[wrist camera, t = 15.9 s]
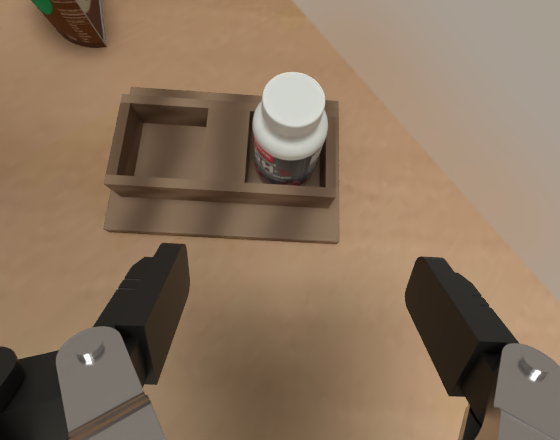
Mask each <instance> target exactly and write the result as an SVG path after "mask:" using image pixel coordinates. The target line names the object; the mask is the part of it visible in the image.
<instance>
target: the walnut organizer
mask: <svg viewBox="0 0 560 440" xmlns="http://www.w3.org/2000/svg"><path fill="white" fill-rule="evenodd" d="M261 101H262V96H254V95H240V94H225V93H211V92H196V91H182V90H167V89H152V88H138V87H131V90H130V95H128V94H122V98H121V103H120V108H119V112H118V117H117V122H116V127H115V132H114V137H113V142H112V147H111V152H110V157H109V162H108V167H107V172H106V177H105V181H104V184H105V185H106V186H107V187H109V188H110V189H111V192H110V197H109V202H108V207H107V213H106V218H105V223H104V228H103V229H104V230H106V231H108V232H119V233H138V234H157V235H176V236H195V237H214V238H233V239H252V240H271V241H289V242H308V243H327V244H337V243H338V242H339V116H338V101H327V100H325V108H324V110H325V112H326V115H327V119H328V131H327V136H326V139H325V141H324V144H323V146H322V149H321V152H320V154H319V157H318V160H317V162H316V165H315V168H314V170H313V173H312V175H311V177H310V178H309V180H308V181H307V182H306V183H305V184H304V185H303V186H294V185H277V184H265V183H264V182H263V181H262V180H261V179H260V177H259V176H258V174H257V171H256V168H255V159H254V143H253V129H252V123H253V116H254V113H255V110H256V108H257V106H258V105H259V103H260V102H261Z"/></svg>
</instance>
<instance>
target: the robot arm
mask: <svg viewBox="0 0 560 440" xmlns="http://www.w3.org/2000/svg"><path fill="white" fill-rule="evenodd" d="M189 287H190V277H189V267H188V257H187V248H186V245H185V244H174V243H162V244H161V245H160V246H159V248H158V250H157V251H156V253H155V255H154V257H144V258H142V259H141V260H140V261H138V262H137V263H136V264H134V265H133V266H132V267H131V269H130V270H129V272H128V273H127V275H126V276H125V279H124V280H123V281H122V283H121V284H120V286H119V287H118V290H116V292H115V294H114V295H113V297H112V298H111V300H110V301H109V303H108V304H107V306H106V308H105V309H104V311H103V312H102V314H101V315H100V317H99V318H98V320H97V321H96V323H95V325H94V326H93V328H89V329H86V330H84V331H81V332H79V333H77V334H76V335H74V336H73V337H71V338H70V339H69V340H68V341H66V342H65V343H64V344H63V346H62V347H61V348H60V350H58V351H54V352H50V353H46V354H41V355H36V356H32V357H27V358H23V359H18V358H17V356H16V355H15V353H14V351H13V350H11V349H9V348H7V347H0V440H166V438H165V436H164V433H163V431H162V428H161V426H160V423H159V421H158V419H157V416H156V414H155V411H154V409H153V406H152V404H151V402H150V400H149V398H148V396H147V395H145V393H144V391H143V389H142V388H143V386H144V384H154V385H157V383H158V380H159V377H160V374H161V371H162V369H163V366H164V363H165V360H166V357H167V354H168V351H169V349H170V346H171V343H172V340H173V337H174V334H175V332H176V329H177V326H178V323H179V320H180V317H181V315H182V312H183V309H184V306H185V303H186V300H187V297H188V293H189ZM405 303H406V307H407V309H408V311H409V313H410V315H411V317H412V320H413V322H414V324H415V326H416V328H417V330H418V332H419V334H420V336H421V339H422V341H423V343H424V345H425V347H426V349H427V351H428V353H429V355H430V357H431V360H432V362H433V364H434V366H435V368H436V370H437V372H438V374H439V376H440V378H441V381H442V383H443V385H444V387H445V389H446V391H447V393H448V395H449V396H460V397H466V399H467V401H468V403H469V404H468V406H467V407H466V409H465V412H464V417H463V421H462V425H461V429H460V434H459V438H458V440H560V366H559V365H558V364H557V363H556V362H555V361H553V360H552V359H551V358H550V357H548V356H547V355H546V354H544V353H542V352H541V351H539V350H537V349H535V348H533V347H530V346H527V345H524V344H519V342H518V341H517V340H516V339H515V337H514V336H513V335H512V333H511V332H510V331H509V330H508V328H507V327H506V326H505V325H504V323H503V322H502V321H501V319H500V318H499V317H498V316H497V314H496V313H495V312H494V311H493V309H492V308H489V304H488V303H487V302H486V300H485V299H484V298H482V297H481V294H480V293H479V292H478V290H477V289H476V288H475V286H474V285H473V284H472V283H471V282H470V281H468V280H467V279H466V278H464V277H463V276H462V275H460V274H459V273H455V272H454V271H453V270H452V268H451V267H450V266H449V264H448V263H447V262H446V260H445V259H444V258H439V257H418V258H417V260H416V262H415V265H414V267H413V270H412V273H411V276H410V279H409V282H408V285H407V288H406V291H405Z"/></svg>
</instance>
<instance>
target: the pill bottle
mask: <svg viewBox="0 0 560 440" xmlns="http://www.w3.org/2000/svg"><path fill="white" fill-rule="evenodd" d="M324 108H325V95H324V92H323V90H322V88H321V86H320V85H319V84H318V83H317V81H315V80H314V79H313V78H311V77H310V76H308V75H306V74H303V73H298V72H286V73H282V74H279V75H277V76H275V77H274V78H272V79H271V80H270V81H269V82H268V83H267V85H266V86H265V88H264V91H263V95H262V101H261V102H260V103H259V105H258V106H257V108H256V110H255V113H254V116H253V123H252V129H253V143H254V159H255V168H256V171H257V174H258V176H259V177H260V179H261V180H262V181H263V182H264V183H265V184H277V185H294V186H303V185H304V184H305V183H306V182H307V181H308V180H309V178H310V177H311V175H312V173H313V170H314V168H315V165H316V162H317V160H318V157H319V154H320V152H321V149H322V146H323V144H324V141H325V139H326V136H327V131H328V119H327V115H326V112H325V110H324Z"/></svg>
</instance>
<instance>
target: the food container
mask: <svg viewBox="0 0 560 440" xmlns="http://www.w3.org/2000/svg"><path fill="white" fill-rule="evenodd" d="M31 1H32V2H33V3H34V4H35V5H36V6H37V8H38V9H39V10H40V11H41V12H42V13H43V14H44V16H45V17H46V18H47V19H48V20H49V21H50V22H51V24H52V25H53V26H54V27H55V28H56V29H57V30H58V32H59V33H60V34H61V35H62V36H63V37H64V38H66V39H67V40H69V41H70V42H73V43H75V44H77V45H81V46H85V47H94V48H99V47H106V38H105V30H104V21H103V13H102V4H101V0H31Z"/></svg>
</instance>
